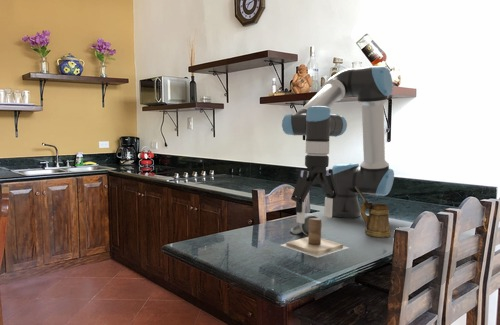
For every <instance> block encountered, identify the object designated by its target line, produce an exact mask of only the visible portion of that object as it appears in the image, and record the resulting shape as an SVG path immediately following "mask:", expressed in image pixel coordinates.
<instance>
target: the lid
mask: <svg viewBox="0 0 500 325" xmlns="http://www.w3.org/2000/svg"><path fill="white" fill-rule="evenodd" d="M321 223H322V219H321V218H319V217H318V218H310V219H309V233H308V236H306V237H302V238H299V239H294V240H291V241H287V242H286V243H285V244H286V245H287V246H290V247H293V248H296V249H299V250H302V251H305V252H308V253H311V254H314V255H320V254H323V253H326V252H329V251H333V250H336V249H339V248H343V246H344V244H342V243H338V242H336V241H333V240H328V239H325V238H322V228H321Z"/></svg>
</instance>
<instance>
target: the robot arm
mask: <svg viewBox="0 0 500 325" xmlns="http://www.w3.org/2000/svg"><path fill="white" fill-rule="evenodd" d="M393 85H394V84H393V79H392V74H391V71H390V70H389V69H388V68H387V67H386V66H382V65H381V66H380V65H374V66H364V67H351V68H347V69H346V68H345V69H343V70H341V71H339V72H338V73H336V74H334V75H333V76H331V77H330V78H329V79H328V80H326V82H325V83H324V85H323V87H322V88H321V89H320V90H319V91H318V92H316V94H315V95H314V96H312V98H311V99H310V100H308V101H307V103H305V105H303V106H302V107H301V108H300V109H299V110H298V111H297V112H295V113H290V114H285V115H284V117H283V119H282V122H281V127H282V131H283V133H284V134H286V135H288V136H294V137H295V136H305V154H306V155H305V156H304V166H305V167H306V170H301V169H300V170H299V171H298V172H299V173H298V178H297V181H296V184H295V186H294V188H293V192H292V195H291V198H290V200H291V201H293V202H295V212H296V223H298V222H299V223H305V214H306V202H305V199H306V197H307V196H308V194H309V192H310V191H311V189H312V187H313V186H314V185H317V184H319V185H320V186H321V187H320V188H321V189H322V191H323V192H324V194H325V197H324V214H323V217H325V218H328V219H332V218H333V217H335V218H344V219H346V218H348V219H351V218H352V219H353V218H358V217H362V215H361V211H360V209H361V206H360V202H359V200H358V194H359V193H358V191H357V190H356V188H355V186H356V187H358V188H359V190H360V191H361V193H362V194H364V195H373V196H378V197H379V196H384V197H385V196H387V195H388V194H389V193H390V192H391V190H392V188H393V184H394V180H395V171H394V170H393V169H392V168H390V167H389V166H390V165H389V163H388V161H387V160H386V155H385V154H386V153H385V148H386V146H385V144H386V143H385V112H384V110H385V107H384V104H385V103H386V102H387V100H388V97H389V96H390V95H391V94H392V92H393ZM348 97H350V98H351V97H354V98H355V97H357V102H358V103H359V104H360V105H361V116H362V117H361V118H362V119H361V122H362V124H361V125H362V143H363V144H362V146H363V161H362V162H361V163H360V164H359V163H357V162H353V163H341V164H335V165H332V166H333V167H332V168H328V167H329V163H330V159H329V158H330V157H329V156H328V155H329V154H330V137H334V138H335V137H339V136H342V135H343V134H345V132H346V130H347V127H348V123H347V120H346V118H345V117H344V116H343V115H341V114H337V113H332V112H331V108H332V106H334V104H335V103H336V102H339V101H341V100H342V99H344V98H348Z"/></svg>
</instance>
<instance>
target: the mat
mask: <svg viewBox="0 0 500 325" xmlns="http://www.w3.org/2000/svg"><path fill="white" fill-rule="evenodd" d="M280 247H284V248H287V249H290V250H293V251H296V252H299V253H302V254H305V255H308V256H311V257H314V258H317V259H319V258H321V257H324V256H328V255H331V254H334V253H337V252H340V251H341V252H342V251H344V250H346V249H350V247H348V246H344V245H343V248H339V249H336V250H333V251H329V252H326V253H323V254H320V255H314V254H311V253H308V252H305V251H302V250H299V249H296V248H293V247H290V246H287V245H286V243H284V244H280Z"/></svg>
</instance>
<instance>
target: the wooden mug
mask: <svg viewBox="0 0 500 325" xmlns="http://www.w3.org/2000/svg"><path fill="white" fill-rule="evenodd" d="M355 188H356V190H357V191H358V193H357V194H358V195H360V197H361V199H363V202H362V204H361V206H360V211H361V217H362V219H363V221H364V222H365V229H364V233H365V234H366V236H369V237H374V238H379V237H384V238H389V237H391V235H392V234H391V229H390V221H389V214H390V210H389V206H388V204H386V203H372V202H370V201H368V200H367V199H366V197H365V196H364V195H363V194H362V193H361V191H360V190H359V188H358V187H356V186H355ZM366 211H367V212H368V213H369V214H368V215H367V214H366Z"/></svg>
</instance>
